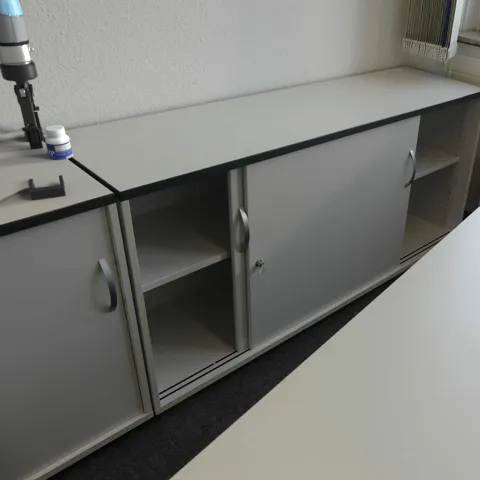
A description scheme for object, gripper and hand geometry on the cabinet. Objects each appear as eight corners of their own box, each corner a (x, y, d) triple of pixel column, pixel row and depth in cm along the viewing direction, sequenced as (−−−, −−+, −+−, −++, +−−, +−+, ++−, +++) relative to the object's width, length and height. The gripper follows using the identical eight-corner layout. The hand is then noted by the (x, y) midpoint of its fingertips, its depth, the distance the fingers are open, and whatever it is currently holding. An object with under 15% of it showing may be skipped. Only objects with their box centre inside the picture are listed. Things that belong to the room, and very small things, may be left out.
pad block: (27, 143, 143) (24, 128, 140) (45, 141, 144) (41, 127, 142) (28, 148, 140) (24, 133, 138) (45, 146, 141) (42, 132, 139)
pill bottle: (47, 161, 134) (38, 126, 129) (69, 156, 137) (62, 122, 133) (55, 168, 131) (46, 133, 126) (77, 163, 134) (70, 129, 130)
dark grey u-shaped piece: (31, 187, 122) (29, 178, 121) (64, 182, 125) (62, 175, 124) (31, 200, 117) (29, 192, 116) (65, 195, 119) (63, 187, 118)
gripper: (35, 73, 123) (56, 160, 134) (33, 49, 142) (52, 127, 153) (-4, 75, 120) (21, 164, 131) (0, 51, 139) (21, 130, 150)
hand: (38, 144), depth 142 cm, fingers open, 13 cm apart
